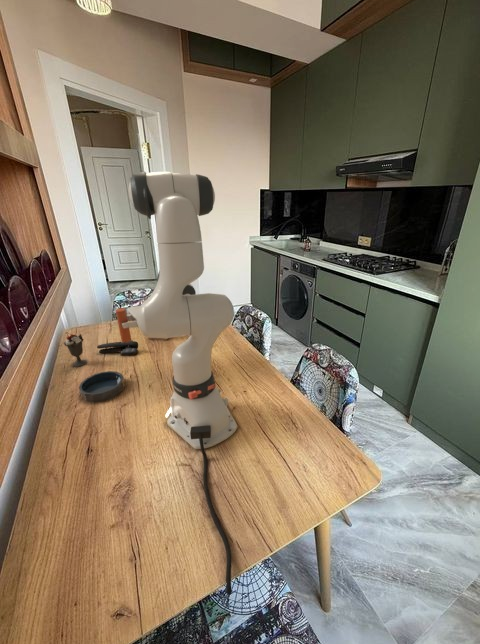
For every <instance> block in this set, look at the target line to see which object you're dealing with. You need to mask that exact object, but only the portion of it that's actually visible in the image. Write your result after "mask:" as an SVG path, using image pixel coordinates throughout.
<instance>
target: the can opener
mask: <svg viewBox="0 0 480 644" xmlns="http://www.w3.org/2000/svg"><path fill="white" fill-rule="evenodd" d="M96 348H97V349H99V352H98V353H99V354H109V353H115V352H120V355H121V356H123V357H132V356H135V355H136V354H137V353H138V352H139V349H138V348H139V343H138V341H135V340H133V339H131V341H129V342H122V340H121V341H115V342H107V343H101V344H98V345H97V347H96Z"/></svg>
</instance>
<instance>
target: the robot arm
mask: <svg viewBox="0 0 480 644" xmlns="http://www.w3.org/2000/svg"><path fill="white" fill-rule="evenodd" d="M129 179H130V180H129V183H128V197H129V200H130V202H131V205H132V206H133V207H134V210H135V211H136V212H137V213H139V214H140V215H143V216H146V217H147V219H149V220H152V216H155V231H156V233H155V234H156V242H157V252H158V267H159V269H158V274H157V278H156V282H157V283H156V285H155V288H154V290H153V291H152V293H151V294H150V295H149V297H148V298H146V299H145V300H144V301H143V302H142V303H141V304H140V305H135V306H130V307H127V308H126V314H127V319H128V322H127V321H126V322H122V327H123V328H128V327H129V329H131V328H134V329H135V328H138V329H139V331H140V332H141V333H142V334H143V335H144V336H145V337H147V338H148V339H149V338H168V339H169V338H170V339H172V338H179V337H184V336H189V337H188V338H186V340H184V341H183V342H181V343H180V344H179V345H177V346H176V347H175V349H174V350H173V352H172V354H171V364H172V372H173V374H172V387H173V393H172V394H171V397H170V398H169V402H170V404H169V405H170V407H169V409H168V410H167V412H166V414H165V418H168V419H167V420H166V425H167V426H168V427H169V428H170V429H171V430H172V431H174V432H175V433H176V434H177V435H178V436H179V437H180V438H181V439H183V440H184V441H185V442H186V443H187V444H188V445H190V446H191V447H192V448H193V449H194V450H200V451H201V454H202V458H203V474H202V475H203V476H202V481H203V482H202V483H203V489H204V494H205V499H206V503H207V506H208V509H209V512H210V516H211V518H212V522H213V524H214V525H215V527H216V529H217V531H218V533H219V535H220V537H221V539H222V542H223V545H224V548H225V554H226V569H225V588H226V591H225V592H226V595H228V596H230V595H232V591H233V590H232V562H233V561H232V560H233V559H232V550H231V546H230V542H229V539H228V537H227V535H226V532H225V530H224V529H223V526H222V524H221V523H220V521H219V519H218V516H217V514H216V511H215V508H214V504H213V502H212V498H211V495H210V489H209V483H208V465H209V464H208V456H207V451H206V450H205V449H209V448H211V447H214V446H217V445H218V444H221V443H222V442H224V441H225V440H227V439H229V438H230V437H232V435H234V434H235V433H236V431H237V429H238V424H237V422H236V420H235V419H234V417H233V415H232V413H231V412H230V410H229V408H228V406H229V400H228V398H227V397H222V395H221V393H222V390H221V388H218V386H217V385H216V380H215V376H214V372H213V370H212V352H213V348H214V345H215V343H216V341H217V339H218V338H219V336H220V335H221V334H222V333H223V332H224V331H225V330H226V329H228V328H229V327H230V325H232V322H233V320H234V316H235V309H234V305H233V303H232V301H231V300H230V298H229V297H228V296H227V295H225V294H220V293H212V292H211V293H210V292H207V293H196V289H195V287H194V286H193V285H192V283H194V282H195V281H196V280H198V279H200V277H201V276H202V275H203V273H204V270H205V263H204V251H203V238H202V231H201V226H200V220H199V217H202V216H206V215H209V214H210V213H211V212H212V211H213V210H214V205H215V200H216V193H215V190H214V186H213V184H212V181H211V180H210V178H209V177H208V176H205V175H202V174H197V173H196V174H190V173H182V172H172V171H153V172H151V171H150V172H146V171H140V172H135V173H132V175H131V177H130V178H129ZM169 415H170V416H169ZM226 583H227V584H226Z"/></svg>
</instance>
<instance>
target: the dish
mask: <svg viewBox="0 0 480 644" xmlns="http://www.w3.org/2000/svg"><path fill="white" fill-rule="evenodd" d="M125 385H126V382H125V377H124V375H123V374H122V373H121V372H119V371H116V370H115V371H112V370H107V371H101V372H98V373H94V374H92V375H90V376H88V377H86V378H85V379H83V380H82V381H81V382H80V384H79V386H78V390H79V393H80V397H81V399H82V400H83V401H85V402H88V403H89V402H90V403H98V402H103V401H107V400H110V399H112V398H114V397H116V396H117V395H119V394H120V393H121V392H122V391H123V390H124V389H125Z"/></svg>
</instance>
